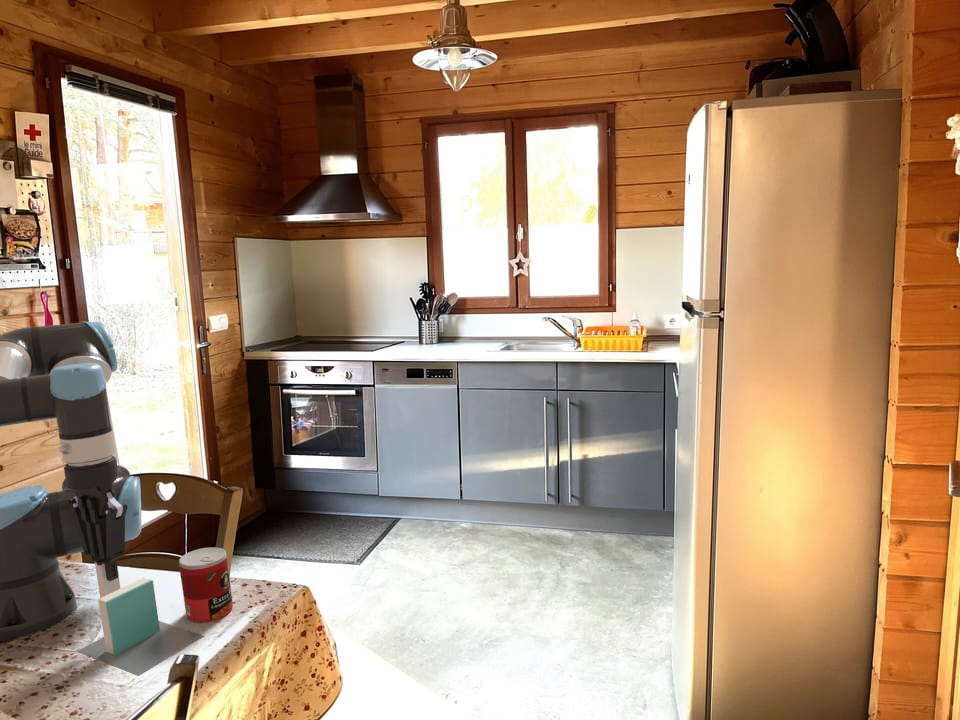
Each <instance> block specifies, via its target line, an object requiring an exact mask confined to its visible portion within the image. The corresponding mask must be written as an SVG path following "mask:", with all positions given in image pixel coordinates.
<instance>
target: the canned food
mask: <svg viewBox="0 0 960 720" xmlns="http://www.w3.org/2000/svg"><path fill="white" fill-rule="evenodd" d="M178 562H179V563H178V565H179V573H180V581H181V588H182V595H183V604H184V608H185V616H186V618H187V620H188V621H190V622H192V623H195V624H196V623H197V624H202V623H203V624H204V623H211V622H215V621H218V620H220V619H222V618H224V617H226V616H228V615H229V614H230V613H231V612H232V610H233V607H234V604H233V594H232V588H231V578H230V571H229V562H228V555H227V552H226V549H224V548H221V547H216V546H215V547H210V546H209V547H202V548H198V549H197V548H196V549H195V550H192V551H189V552H187V553H185V554H183V555H182V556H181V557H179V559H178Z"/></svg>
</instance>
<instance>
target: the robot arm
mask: <svg viewBox="0 0 960 720" xmlns="http://www.w3.org/2000/svg"><path fill="white" fill-rule="evenodd" d="M112 339H113V338H112V337H111V334H110V331H109V330H108V327H107V326H106V325H105V324H104V323H103V322H102V321H80V322H74V323H64V324H61V323H60V324H53V325H43V326H42V325H39V326H29V327H27V326H26V327H22V328H16V329H13V330H10V331H7V332H5V333H2V334H0V427H1V428H2V427H6V426H12V425H13V426H14V425H19V424H26V423H33V422H40V421H47V420H48V421H49V420H53V419H55V420H56V425H57V429H58V438H59V445H60V446H59V447H58V449H59V451H60V452H61V456H62V457H61V458H62V461H63V462H64V463H65V465H64V467H63V473H64V479H63V480H62V484H61V490H58V491H54V492H49V491H48V489H47V488H46V486H43V485H34V486H31V485H30V486H24V487H21V488H20V487H19V488H15V489H12V490H10V491H9V490H8V491H6V492H3V493H1V494H0V641H6V642H12V641H15V640H17V639H19V638H22V637H27V636H30V635H33V634H36V633H39V632H41V631H44V630H47V629H50V628H51V627H53V626H55V625H57V624H59V623H61V622H62V621H64V620H65V619H68V617H69V616H71V614H73V613H75V612H76V611H77V607H78V606H77V598H76V594H75V592H74V590H73V589H72V587H71V585H70V584H69V582H68V581H67V579H66V577H65V576H64V574H63V573H62V571H61V569H60V564H59V559H58V558H61V557H64V556H65V557H66V556H70V555H74V554H78V553H84V555H85V556H90V559H91V560H92V561H93V562H94V565H95V572H96V578H97V579H96V580H97V583H98V591H99V592H98V593H99V599H100V598H102V597H104V596H106V595H108V594H110V593H112V592H115V591H117V590H119V589H121V588H122V587H121V584H120V576H119V569H118V567H119V566H118V563H117V561H118V559H120V558H122V557H124V556H125V553H126V552H125V551H126V542H128V541H131V540H135V539H136V538H137V537H139V535H141V532H142V499H141V498H142V497H141V495H142V494H141V493H142V492H141V491H142V490H141V480H140V477H139V476H134V475H131V471H130V470H129V469H128V468H127V467H125V466H124V465H122V464H120V459H119V454H118V447H117V442H116V438H115V437H116V436H115V431H114V426H113V425H114V424H113V419H112V414H111V407H110V401H109V395H108V391H107V383H108V382H109V381H110V379H111V376H112V373H114V372H116V371H117V369H118V360H117V354H116V350H115V346H114V342H113V340H112Z"/></svg>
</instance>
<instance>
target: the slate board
mask: <svg viewBox="0 0 960 720" xmlns="http://www.w3.org/2000/svg"><path fill="white" fill-rule="evenodd" d="M159 627H160V631H158V632H156V633H154V634H153V635H151V636H149V637H147V638H145V639H144V640H142V641H140V642H138V643H136V644H135V645H133V646H131V647H129V648H128V649H126V650H124V651H122V652H120V653H119V654H117V655H114V654H112V653H109V652H106V646H105V640H104V636H103V637H101V638H99V639H97V640H95V641H94V642H90V643H89V644H88V645H86V646H84V647H82V648H80V649H78V650H76V652H77V653H80V654H82V655H85V656H88V657H91V658H92V659H96V660H98V661H100V662H103V663H105V664H108V665H111V666H113V667H116V668H118V669H121V670H122V671H126V672H129V674H130V673H131V674H133V675H136V676H138V677H139V676H141V675H143V674H145V673H146V672H148V671H149V670H151V669H153V668H155V667H156V666H158V665H159V664H161V663H162V662H164V661H165V660H167V659H169V658H171V657H173V656H174V655H176V654H178V653H179V652H181V651H183V650H184V649H185V648H187V647H189V646H191V645H193V644H194V643H195V642H197V641H199V640H200V639H203V638H205V635H203V634H201V633H197V632H194V631H191V630H187V629H184V628H182V627H180V626H176V625H173V624H169V623H166V622H164V621H161V620H159Z"/></svg>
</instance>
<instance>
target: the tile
mask: <svg viewBox="0 0 960 720" xmlns="http://www.w3.org/2000/svg"><path fill="white" fill-rule="evenodd" d="M120 588H121V589H119V590H117V591H115V592H112V593H110V594H108V595H106V596H104V597H102V598H100V597H99V598H98V600H97V602H98V607H99V608H98V609H99V615H100V619H101V626H102V627H101V628H102V632H103V637H104V640H105V646H106V652H109V653H112V654H114V655H117V654H119V653H120V652H122V651H124V650H126V649H128V648H129V647H131V646H133V645H135V644H136V643H138V642H140V641H142V640H144V639H145V638H147V637H149V636H151V635H153V634H154V633H156V632H158V631H160V627H159V621H160V619H159V614H158V606H157V600H156V593H155V587H154V580H153V579H149V578H146V577H142V578H140V579H138V580H136V581H135V582H132V583H129V584H128V585H125V586H123V587H120Z"/></svg>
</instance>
